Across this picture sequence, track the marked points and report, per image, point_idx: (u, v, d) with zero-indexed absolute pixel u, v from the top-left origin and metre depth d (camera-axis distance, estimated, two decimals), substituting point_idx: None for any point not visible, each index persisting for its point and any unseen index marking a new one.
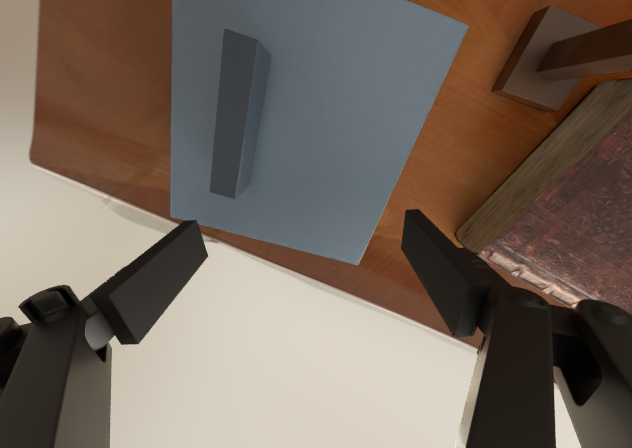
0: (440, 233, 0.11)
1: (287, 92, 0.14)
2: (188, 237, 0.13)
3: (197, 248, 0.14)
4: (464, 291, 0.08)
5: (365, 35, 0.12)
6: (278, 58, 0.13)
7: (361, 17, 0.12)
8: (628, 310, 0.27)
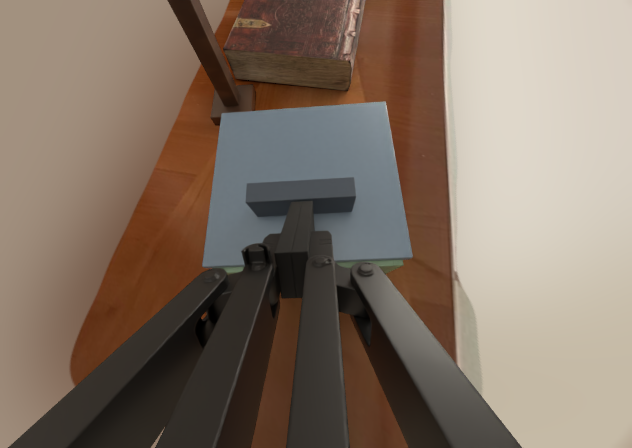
0: (308, 218, 0.13)
1: None
2: None
3: None
4: None
5: (236, 155, 0.21)
6: None
7: (229, 159, 0.21)
8: None
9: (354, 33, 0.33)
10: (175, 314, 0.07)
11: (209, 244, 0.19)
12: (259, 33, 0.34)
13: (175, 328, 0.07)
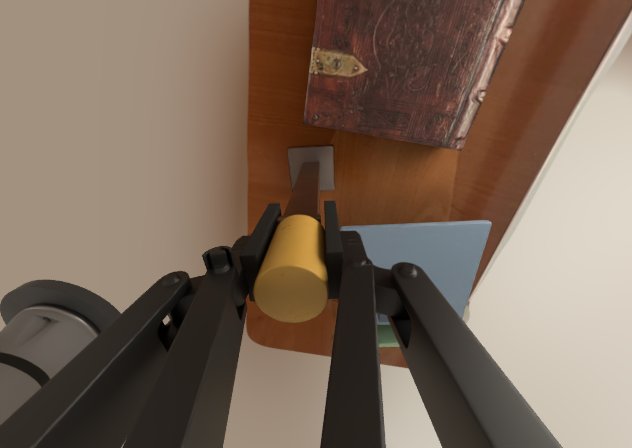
0: (335, 218, 0.13)
1: None
2: (277, 217, 0.15)
3: None
4: (326, 259, 0.10)
5: None
6: None
7: None
8: None
9: (483, 95, 0.24)
10: (135, 319, 0.07)
11: None
12: (349, 89, 0.23)
13: (136, 332, 0.07)
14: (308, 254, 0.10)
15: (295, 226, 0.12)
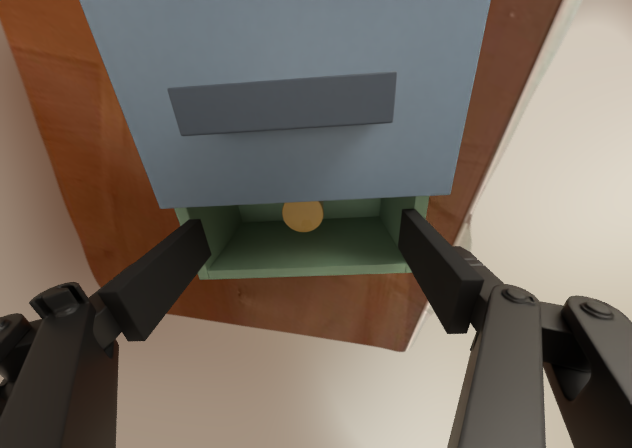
0: (435, 232, 0.11)
1: (231, 58, 0.10)
2: (192, 236, 0.13)
3: (201, 247, 0.14)
4: (457, 288, 0.08)
5: None
6: (203, 84, 0.10)
7: None
8: None
9: None
10: None
11: (155, 178, 0.12)
12: None
13: None
14: None
15: None
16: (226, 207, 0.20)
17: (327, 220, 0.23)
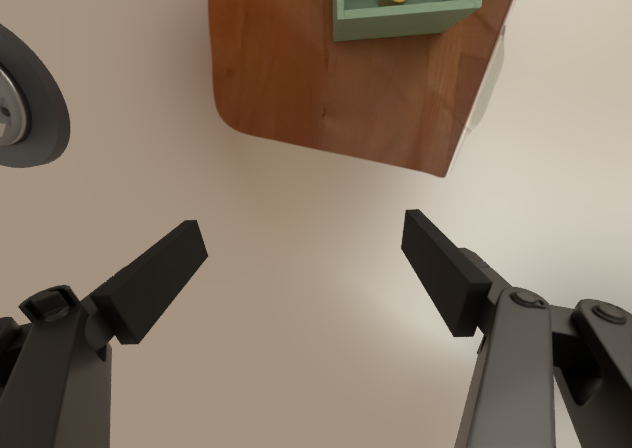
0: (440, 233, 0.11)
1: None
2: (188, 237, 0.13)
3: (197, 248, 0.14)
4: (464, 291, 0.08)
5: None
6: None
7: None
8: None
9: None
10: None
11: None
12: None
13: None
14: None
15: None
16: None
17: None
